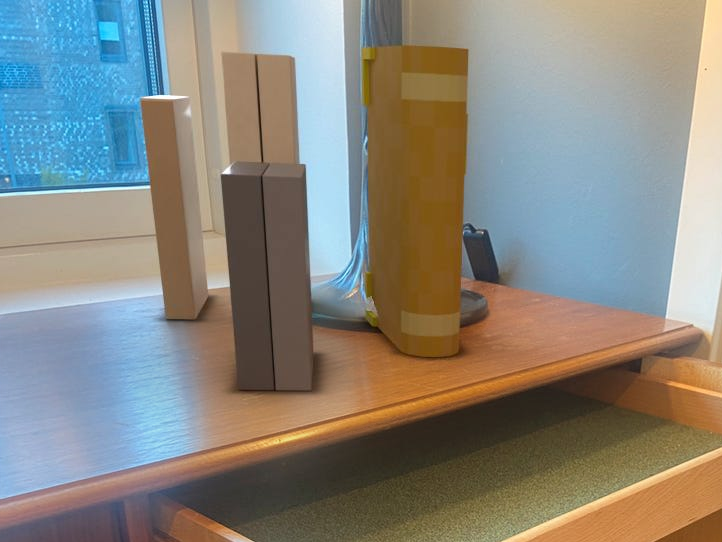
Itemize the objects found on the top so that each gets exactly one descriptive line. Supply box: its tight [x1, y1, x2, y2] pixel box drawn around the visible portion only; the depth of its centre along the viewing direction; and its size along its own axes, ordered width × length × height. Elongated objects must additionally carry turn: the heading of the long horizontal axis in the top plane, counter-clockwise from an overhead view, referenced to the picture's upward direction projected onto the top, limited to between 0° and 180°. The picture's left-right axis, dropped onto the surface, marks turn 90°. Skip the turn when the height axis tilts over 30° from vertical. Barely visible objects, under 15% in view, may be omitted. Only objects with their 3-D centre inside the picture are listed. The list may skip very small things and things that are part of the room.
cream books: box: [220, 51, 301, 166], centre depth 100 cm, size 6×14×24 cm, turn 8°
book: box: [360, 44, 470, 358], centre depth 91 cm, size 17×7×25 cm, turn 17°
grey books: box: [220, 161, 315, 392], centre depth 80 cm, size 6×12×16 cm, turn 8°
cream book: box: [139, 94, 209, 320], centre depth 99 cm, size 3×12×20 cm, turn 8°
